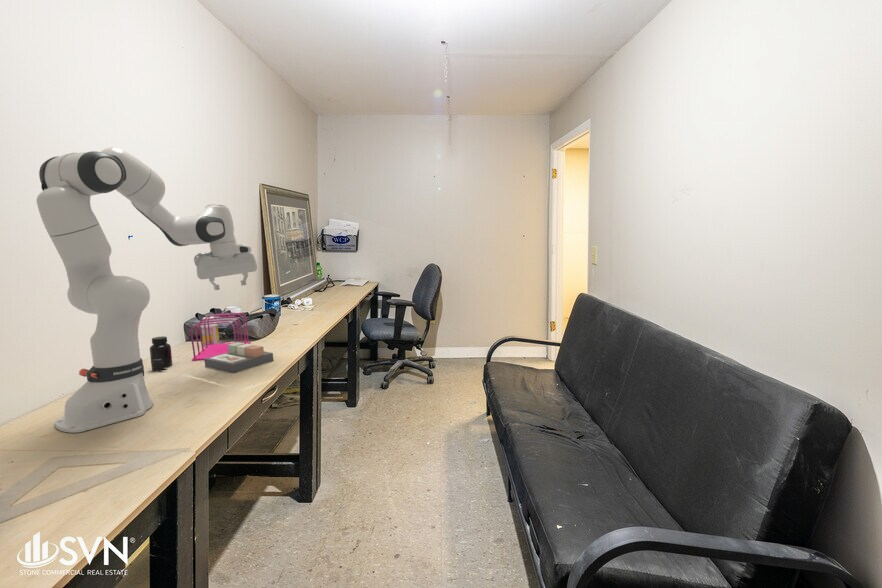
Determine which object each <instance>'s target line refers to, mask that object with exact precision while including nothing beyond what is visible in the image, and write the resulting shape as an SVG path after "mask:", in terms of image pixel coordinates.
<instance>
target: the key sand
mask: <svg viewBox="0 0 882 588" xmlns="http://www.w3.org/2000/svg"><path fill="white" fill-rule="evenodd" d="M251 346H255V344H251V343H250V344H244V345H240V346H237V355H240V356H246V348H248V347H251Z"/></svg>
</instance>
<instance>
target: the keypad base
mask: <svg viewBox="0 0 882 588" xmlns="http://www.w3.org/2000/svg"><path fill="white" fill-rule="evenodd" d="M203 362H204V367H206V368H207V369H209V368H210V369H214V370H217V371H222V372H227V373H231V374H235V373H238V372H241V371H244V370H248V369H250V368H255V367H257V366H261V365H265V364H267V363H270V362H274V352H270V351H265V350H264V355H263V356H259V357H256V358H251V357H246V356H240V355H237V354H230V353H229V352H228V353H224V354H220V355H217V356H213V357H209V358H205V359H204V360H203Z"/></svg>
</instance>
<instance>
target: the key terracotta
mask: <svg viewBox="0 0 882 588" xmlns="http://www.w3.org/2000/svg"><path fill="white" fill-rule="evenodd" d="M264 351H265V350H264V346H263V345H256V344H254V346H251V347H248V348H246V357H251V358H256V357H259V356H263V355H264Z"/></svg>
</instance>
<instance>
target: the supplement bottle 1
mask: <svg viewBox="0 0 882 588" xmlns="http://www.w3.org/2000/svg"><path fill="white" fill-rule="evenodd" d="M151 344H152V345H151V346H150V347H149V358H150V366H151V370H152V371H153V372H164V371H168V368H170V367H172V366H173V357H172V355H173V354H172V347H171V344H169V343H168V337H167V336H162V335H161V336H156V337H152V338H151Z"/></svg>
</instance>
